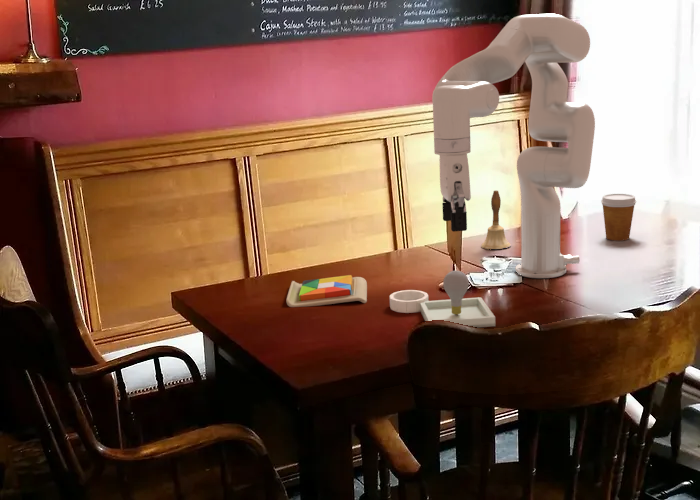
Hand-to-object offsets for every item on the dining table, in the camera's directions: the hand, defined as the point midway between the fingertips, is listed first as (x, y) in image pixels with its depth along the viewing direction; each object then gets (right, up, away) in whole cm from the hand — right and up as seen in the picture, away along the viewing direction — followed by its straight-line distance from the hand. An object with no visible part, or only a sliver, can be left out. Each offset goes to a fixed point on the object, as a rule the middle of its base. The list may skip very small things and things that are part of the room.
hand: (454, 225), depth 189 cm
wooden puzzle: (-28, -17, +26) cm, 41 cm away
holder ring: (-9, -18, +13) cm, 24 cm away
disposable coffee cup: (+54, -2, +63) cm, 83 cm away
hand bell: (+19, -4, +61) cm, 64 cm away
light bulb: (+1, -20, +4) cm, 20 cm away
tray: (+1, -20, +4) cm, 20 cm away
